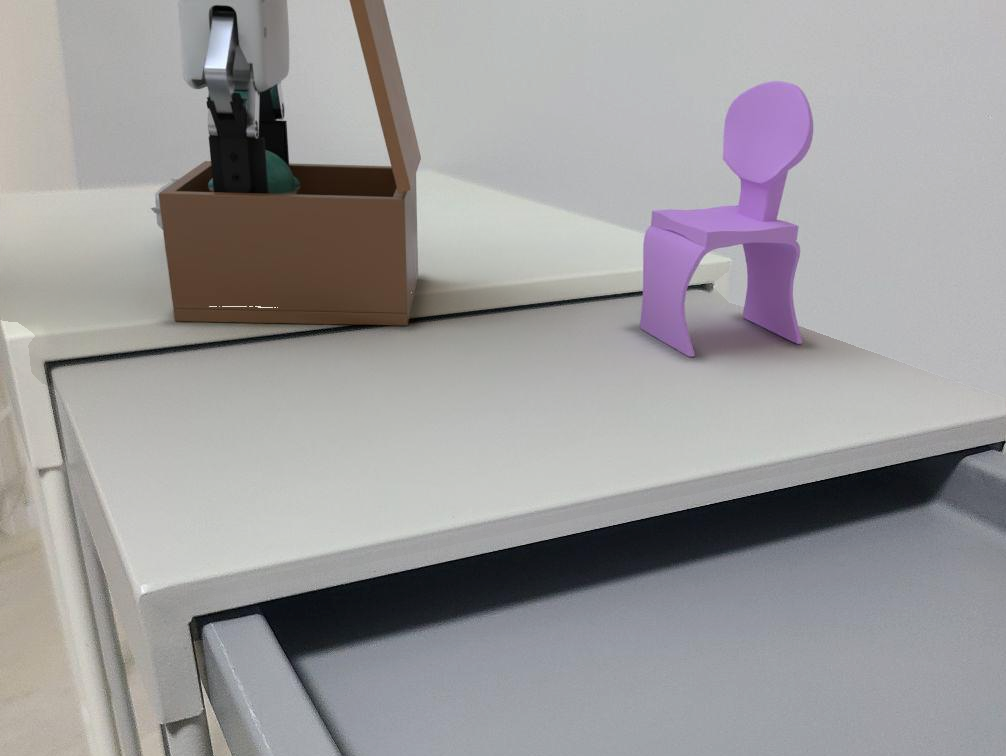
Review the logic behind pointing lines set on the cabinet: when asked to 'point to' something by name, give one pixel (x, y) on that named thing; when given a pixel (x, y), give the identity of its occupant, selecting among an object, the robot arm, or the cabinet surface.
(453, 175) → the cabinet surface
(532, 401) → the cabinet surface
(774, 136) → the toy chair
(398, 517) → the cabinet surface
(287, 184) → the whale figurine
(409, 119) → the lid
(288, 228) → the brown open rectangular box
